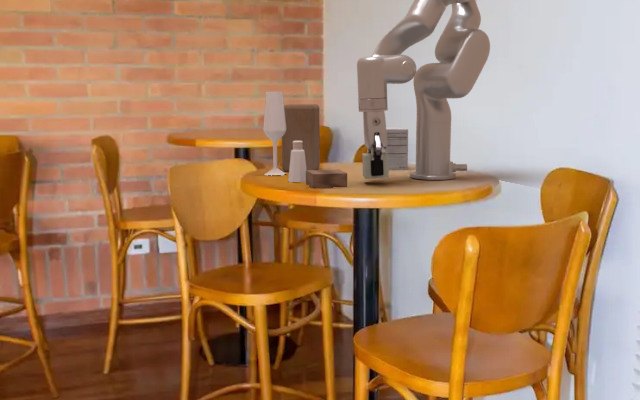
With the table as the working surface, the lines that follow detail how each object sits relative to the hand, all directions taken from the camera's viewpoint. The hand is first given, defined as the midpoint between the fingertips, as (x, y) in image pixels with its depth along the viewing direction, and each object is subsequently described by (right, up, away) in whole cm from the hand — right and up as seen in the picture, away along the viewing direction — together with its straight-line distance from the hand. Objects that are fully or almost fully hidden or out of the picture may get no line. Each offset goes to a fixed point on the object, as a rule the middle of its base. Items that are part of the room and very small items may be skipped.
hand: (375, 172), depth 188 cm
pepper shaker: (-21, -2, +5) cm, 21 cm away
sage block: (0, -1, 0) cm, 1 cm away
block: (-21, +2, +31) cm, 37 cm away
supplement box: (+8, +2, +34) cm, 35 cm away
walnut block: (-13, -4, -3) cm, 14 cm away
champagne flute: (-28, 0, +21) cm, 35 cm away
